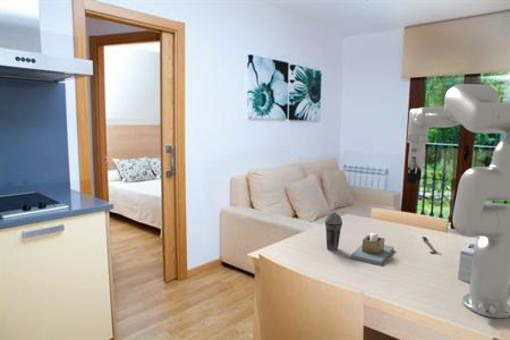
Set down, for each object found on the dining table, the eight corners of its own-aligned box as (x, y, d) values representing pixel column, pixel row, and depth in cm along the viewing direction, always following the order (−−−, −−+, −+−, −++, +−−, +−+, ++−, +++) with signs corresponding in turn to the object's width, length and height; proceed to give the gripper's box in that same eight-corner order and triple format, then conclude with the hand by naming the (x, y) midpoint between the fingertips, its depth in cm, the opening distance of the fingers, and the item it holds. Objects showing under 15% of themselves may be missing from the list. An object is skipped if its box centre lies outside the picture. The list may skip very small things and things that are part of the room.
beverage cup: (321, 249, 153) (323, 203, 150) (326, 244, 159) (328, 200, 157) (338, 253, 150) (340, 205, 147) (342, 247, 156) (345, 202, 153)
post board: (381, 265, 138) (382, 243, 136) (350, 258, 144) (351, 237, 143) (393, 250, 154) (394, 230, 153) (365, 244, 161) (366, 225, 160)
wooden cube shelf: (379, 255, 144) (380, 243, 143) (362, 251, 148) (362, 239, 147) (383, 249, 150) (384, 238, 149) (366, 246, 154) (367, 235, 153)
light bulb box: (462, 270, 135) (465, 242, 133) (484, 275, 131) (487, 246, 129) (457, 279, 127) (460, 249, 125) (479, 285, 122) (482, 254, 121)
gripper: (424, 140, 135) (420, 185, 138) (430, 139, 150) (427, 179, 152) (403, 139, 139) (399, 183, 142) (411, 138, 154) (408, 178, 156)
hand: (414, 181), depth 147 cm, fingers open, 9 cm apart
